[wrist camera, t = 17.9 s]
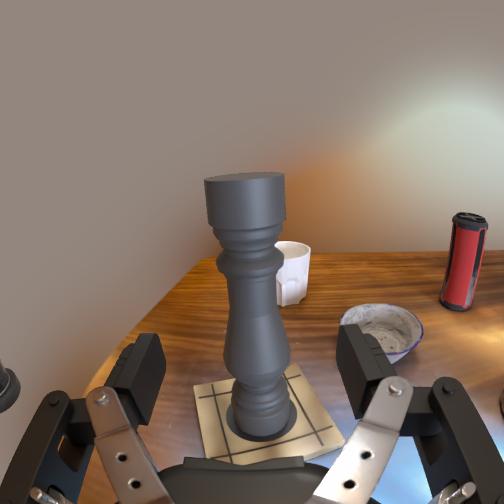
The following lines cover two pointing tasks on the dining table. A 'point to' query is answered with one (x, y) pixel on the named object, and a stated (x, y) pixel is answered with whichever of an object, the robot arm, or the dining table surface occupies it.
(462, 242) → the speaker
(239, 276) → the candle holder
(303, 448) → the board
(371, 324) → the bowl
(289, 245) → the cup
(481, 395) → the dining table surface
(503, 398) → the rock
